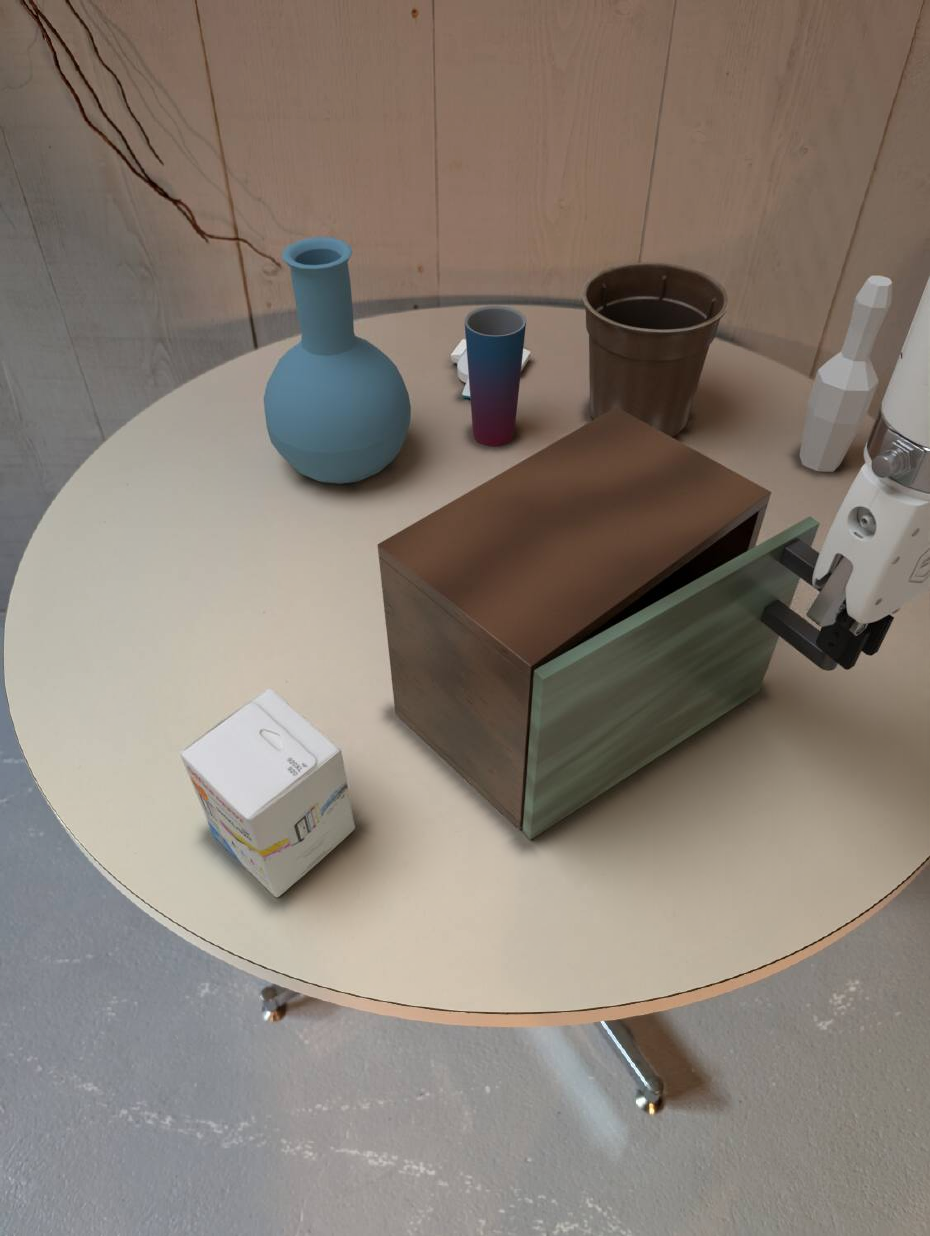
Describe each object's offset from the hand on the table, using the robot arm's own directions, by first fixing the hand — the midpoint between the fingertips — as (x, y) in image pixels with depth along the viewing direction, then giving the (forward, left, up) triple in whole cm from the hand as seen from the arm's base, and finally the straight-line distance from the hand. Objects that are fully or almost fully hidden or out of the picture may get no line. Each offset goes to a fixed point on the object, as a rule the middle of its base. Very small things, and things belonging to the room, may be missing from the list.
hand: (845, 648), depth 67 cm
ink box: (+43, +5, -15) cm, 46 cm away
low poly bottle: (-15, -42, -15) cm, 47 cm away
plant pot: (+5, -52, -15) cm, 54 cm away
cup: (+23, -49, -15) cm, 56 cm away
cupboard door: (+11, +2, -14) cm, 18 cm away
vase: (+41, -45, -15) cm, 63 cm away
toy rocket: (+23, -64, -15) cm, 69 cm away
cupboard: (+19, -9, -14) cm, 26 cm away
